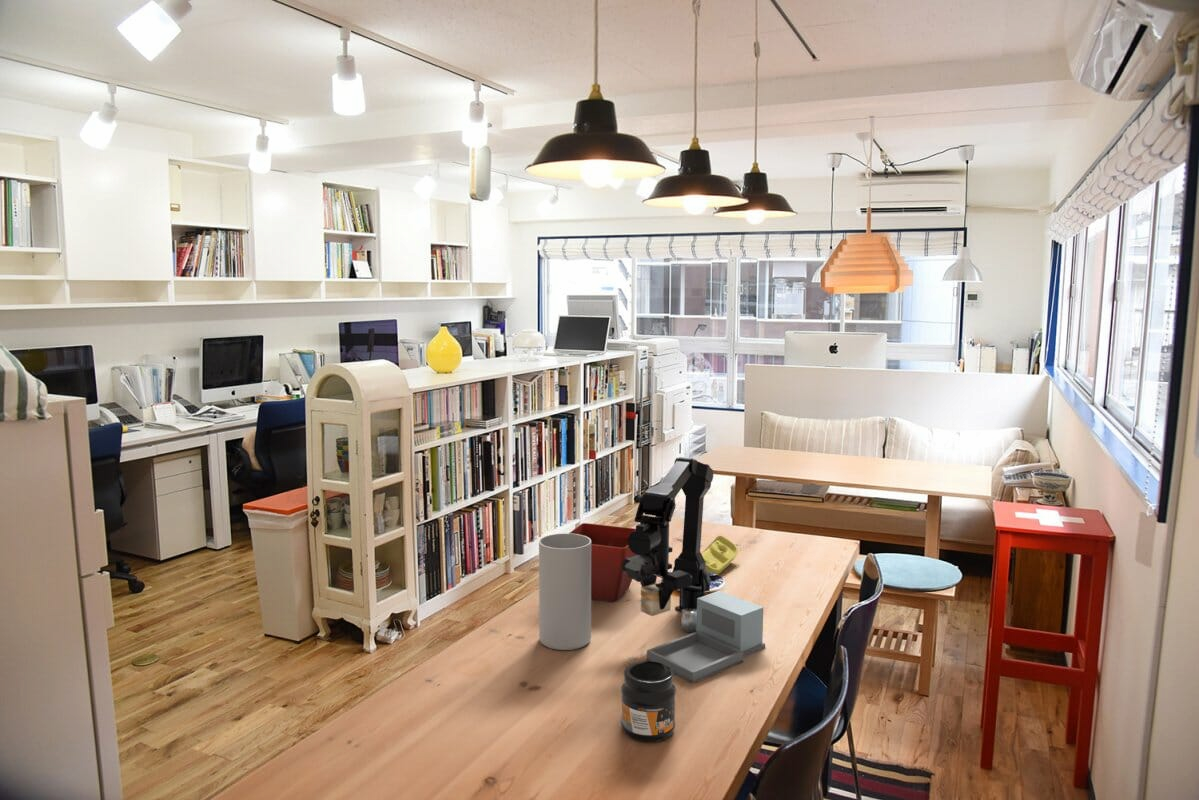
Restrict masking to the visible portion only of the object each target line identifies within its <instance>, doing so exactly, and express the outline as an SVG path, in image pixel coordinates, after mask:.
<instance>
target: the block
mask: <svg viewBox="0 0 1199 800" xmlns="http://www.w3.org/2000/svg"><path fill="white" fill-rule="evenodd" d="M658 583H661V581H656V583H654V584H650V585H647V586H644V587H642V586H641V589H640V612H642V613H644V614H646V615H648V616H651V617H654V616H657V615H660V614H663V613H666V612H669V611H670V612H671V604H672V603H671V601H672V595H671V596H670V598H669V600H668V602H667V604H666V606H665V608H664V609H662V610H661V609H660V604H659V589H658V588H657V587H656V585H655V584H658Z"/></svg>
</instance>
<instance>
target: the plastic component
mask: <svg viewBox="0 0 1199 800" xmlns="http://www.w3.org/2000/svg"><path fill="white" fill-rule="evenodd" d="M701 554H702V556H703V558H704V560H705V562H706V571H707V573H712V574H718V575H719V574H721V573H722V572H723V571H724V570H725V569H727V568H728V567H729V566H730V564H731V563H732V562H733V561H734V559H735V558H736V557H737V556H738V554H739V548H738V547H737V545H736V544H735V543H734V542H732V541H731V540H730V539H729V538H727V537H725V536H724V535H722V534H720V535H717V536H716V537H715V539H714V540H713V541H711V542H710V544H709V545H708V546H707V547H706V548H705V549H704V550H703V551H702V552H701Z"/></svg>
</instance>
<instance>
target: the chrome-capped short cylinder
mask: <svg viewBox="0 0 1199 800" xmlns="http://www.w3.org/2000/svg"><path fill="white" fill-rule="evenodd" d="M680 620H681V627H680V629H681V632H682V633H683V634H688V635H689V634H692V633H694V632H696V625H697V609H694V608H685V609H683V610H682V611H681V619H680Z"/></svg>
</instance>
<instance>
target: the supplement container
mask: <svg viewBox="0 0 1199 800" xmlns="http://www.w3.org/2000/svg"><path fill="white" fill-rule="evenodd" d="M620 687H621V689H620V692H621V720H620V725H621V730H622V731H623V732H624V734H625V735H626V736H628V737H629V738H631V739H633V740H636V741H639V742H645V743H655V742H659V741H663V740H666V739H667V738H669V737H670V736H671V735H672V734H673V733H674V732H675V728H676V723H675V722H676V721H675V720H676V719H675V718H676V713H675V712H676V711H675V710H676V694H677V690H676V689H677V688H676V686H675V685H674V674H673V671H672V669H671V668H670V667H668V666H667V665H665V664H662V663H658V662H653V661H647V660H646V661H645V660H644V661H638V662H637V661H636V662H633V663H631V664H629V665H627V666H626V667H625V668H624V670H623V682H622V684H621V686H620Z"/></svg>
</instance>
